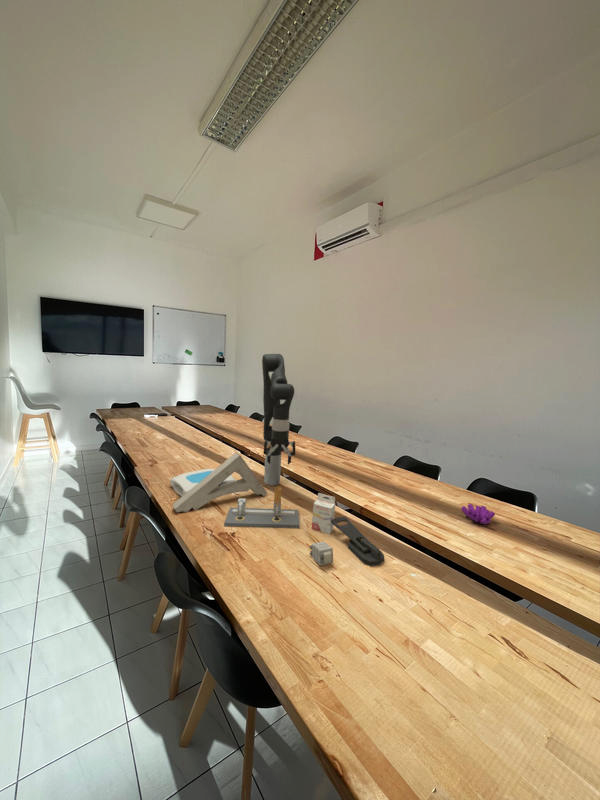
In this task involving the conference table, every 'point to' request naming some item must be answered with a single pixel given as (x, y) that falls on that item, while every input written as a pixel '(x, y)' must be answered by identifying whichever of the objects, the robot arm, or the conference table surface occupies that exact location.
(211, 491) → the wall bracket
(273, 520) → the gauge plate
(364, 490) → the conference table surface
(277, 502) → the sliding divider leg
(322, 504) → the ink cartridge box
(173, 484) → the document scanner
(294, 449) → the robot arm
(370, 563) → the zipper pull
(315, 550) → the electrical component
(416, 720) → the conference table surface
